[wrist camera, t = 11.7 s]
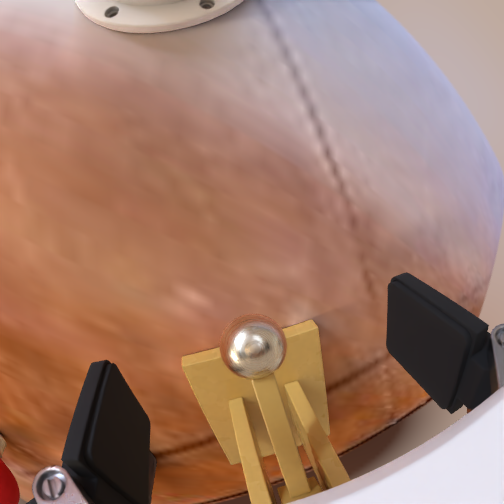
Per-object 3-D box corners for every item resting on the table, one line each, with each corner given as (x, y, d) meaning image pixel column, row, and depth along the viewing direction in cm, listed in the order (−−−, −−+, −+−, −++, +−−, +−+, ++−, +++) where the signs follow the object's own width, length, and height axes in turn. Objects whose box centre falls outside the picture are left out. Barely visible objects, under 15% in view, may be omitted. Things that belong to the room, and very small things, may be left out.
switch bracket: (181, 356, 19) (187, 518, 8) (311, 318, 20) (412, 445, 9) (229, 455, 22) (255, 567, 11) (325, 426, 23) (381, 526, 12)
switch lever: (213, 324, 16) (208, 323, 12) (271, 308, 16) (280, 302, 13) (279, 517, 13) (287, 546, 9) (330, 501, 13) (346, 527, 10)
